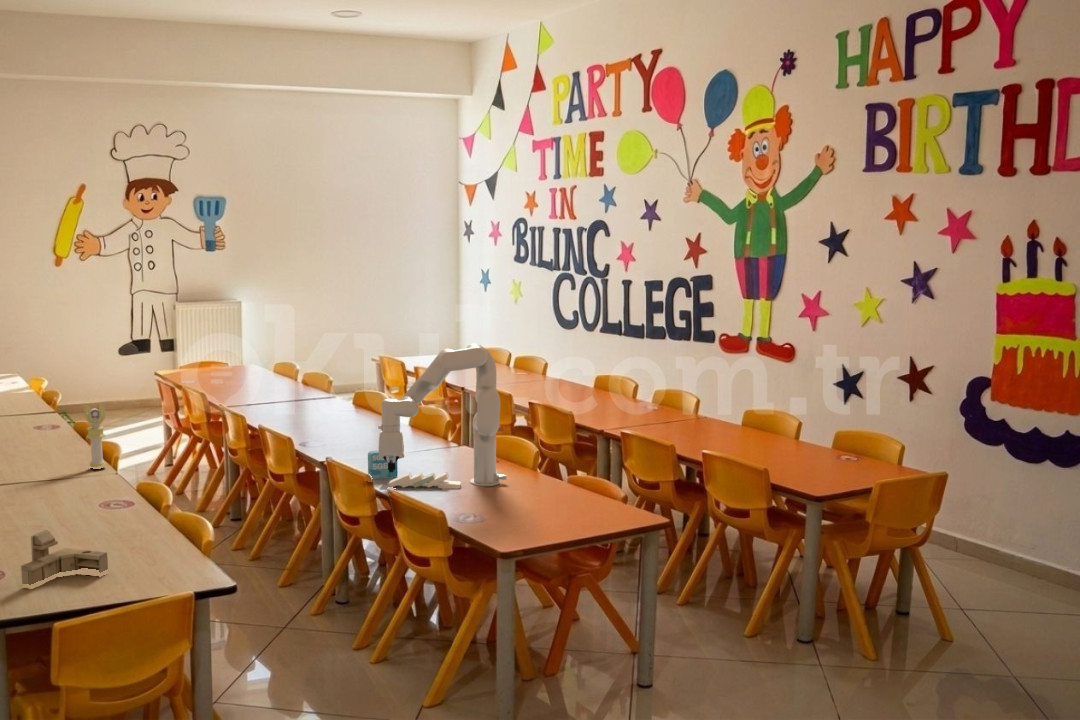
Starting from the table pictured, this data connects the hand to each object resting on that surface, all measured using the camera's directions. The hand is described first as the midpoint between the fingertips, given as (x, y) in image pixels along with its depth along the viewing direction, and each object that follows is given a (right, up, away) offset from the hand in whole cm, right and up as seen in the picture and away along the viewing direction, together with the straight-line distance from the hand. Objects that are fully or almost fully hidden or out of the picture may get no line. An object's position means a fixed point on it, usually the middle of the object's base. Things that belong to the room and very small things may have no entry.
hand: (391, 471), depth 423 cm
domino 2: (+5, -5, +1) cm, 7 cm away
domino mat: (+9, -7, +1) cm, 11 cm away
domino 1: (0, -5, +1) cm, 6 cm away
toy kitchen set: (-84, -22, -111) cm, 141 cm away
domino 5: (+20, -5, +1) cm, 20 cm away
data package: (-6, -5, +17) cm, 19 cm away
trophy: (-137, -3, +31) cm, 140 cm away
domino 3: (+10, -6, +1) cm, 11 cm away
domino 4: (+15, -5, +1) cm, 16 cm away
